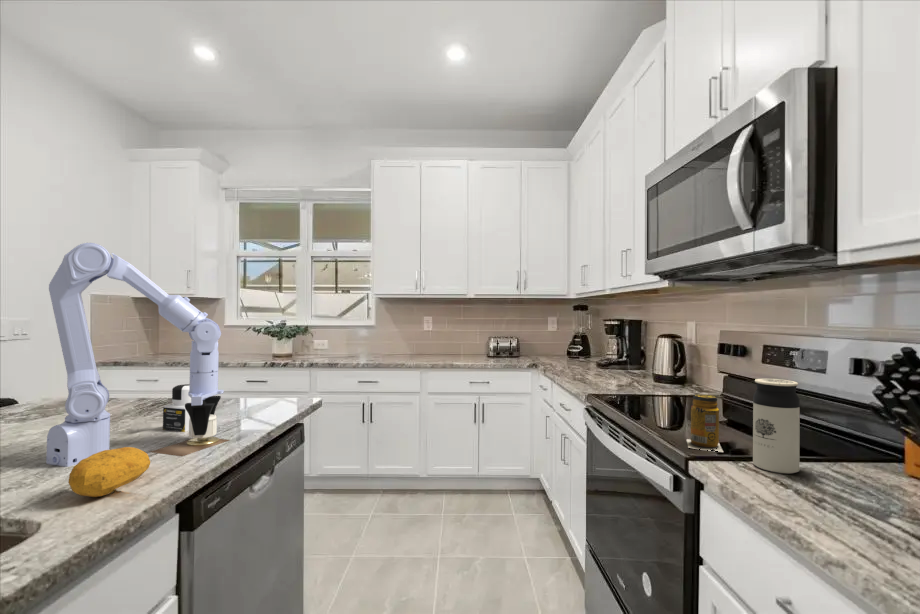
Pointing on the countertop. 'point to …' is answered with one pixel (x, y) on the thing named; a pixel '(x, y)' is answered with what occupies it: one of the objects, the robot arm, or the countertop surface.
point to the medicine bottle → (177, 410)
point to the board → (184, 448)
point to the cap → (210, 429)
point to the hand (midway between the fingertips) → (203, 431)
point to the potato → (107, 471)
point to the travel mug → (776, 426)
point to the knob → (202, 441)
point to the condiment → (704, 423)
